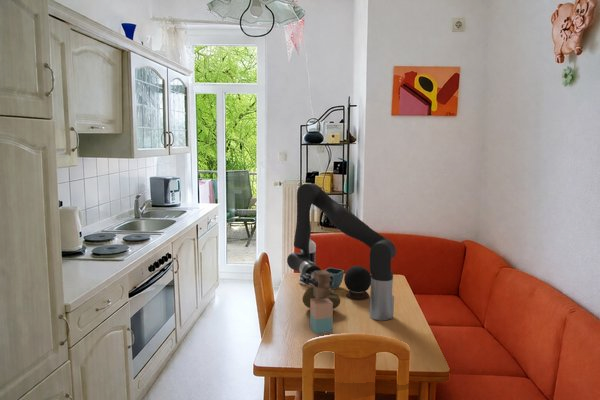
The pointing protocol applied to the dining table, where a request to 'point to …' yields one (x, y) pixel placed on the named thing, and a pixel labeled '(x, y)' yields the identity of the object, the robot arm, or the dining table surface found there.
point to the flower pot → (336, 277)
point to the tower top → (321, 308)
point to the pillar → (322, 284)
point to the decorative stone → (309, 295)
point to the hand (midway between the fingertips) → (323, 284)
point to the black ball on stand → (357, 283)
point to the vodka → (312, 256)
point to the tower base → (321, 325)
